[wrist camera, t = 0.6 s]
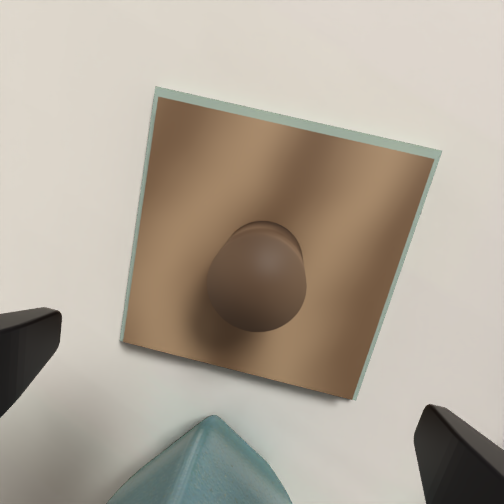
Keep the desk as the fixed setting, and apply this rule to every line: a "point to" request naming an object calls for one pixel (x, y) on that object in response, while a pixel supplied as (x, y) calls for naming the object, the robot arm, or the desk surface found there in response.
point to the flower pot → (205, 472)
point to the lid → (268, 245)
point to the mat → (302, 125)
